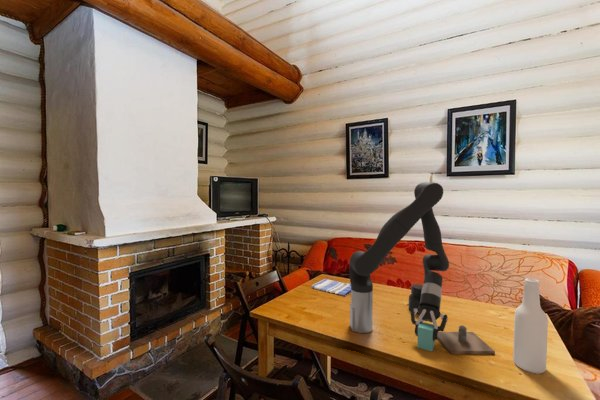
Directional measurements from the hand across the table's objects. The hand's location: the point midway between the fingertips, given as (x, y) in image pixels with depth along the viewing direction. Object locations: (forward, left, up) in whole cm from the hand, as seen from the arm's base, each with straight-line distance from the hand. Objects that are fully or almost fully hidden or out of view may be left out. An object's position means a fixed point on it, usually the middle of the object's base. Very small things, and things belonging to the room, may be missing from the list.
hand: (425, 337), depth 109 cm
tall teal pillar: (+1, +2, -4) cm, 5 cm away
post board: (+16, +4, -4) cm, 17 cm away
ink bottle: (+11, +35, -4) cm, 37 cm away
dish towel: (-28, +65, -5) cm, 71 cm away
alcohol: (+31, -10, -4) cm, 33 cm away
